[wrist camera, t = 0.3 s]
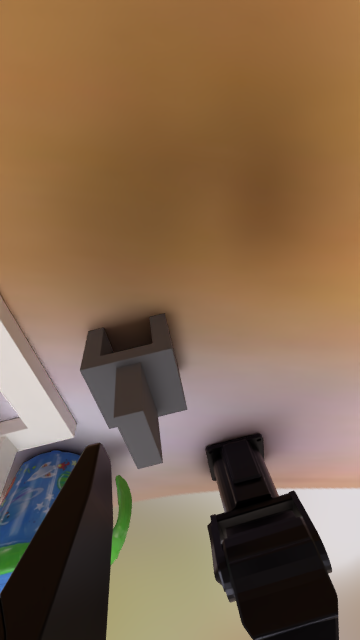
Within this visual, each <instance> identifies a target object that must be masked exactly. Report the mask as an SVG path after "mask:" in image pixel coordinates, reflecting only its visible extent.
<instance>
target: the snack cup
mask: <svg viewBox="0 0 360 640" xmlns="http://www.w3.org/2000/svg"><path fill="white" fill-rule="evenodd" d="M79 458H80V455H77V454H74V453H70V452H61V451H57V450H54V451H51V452H48V453H43V454H40V455H38V456H35V457H34V458H32V459H31V460H29V461H27V462H24V463H23V465H22V466H21V468H20V469H19V471H18V472H17V474H16V476H15V478H14V479H13V481H12V483H11V485H10V487H9V489H8V491H7V493H6V495H5V497H4V499H3V501H2V503H1V505H0V593H1V591H2V589H3V588H4V586H5V584H6V583H7V581H8V579H9V577H10V576H11V574H12V572H13V571H14V569H15V567H16V565H17V564H18V562H19V560H20V559H21V557H22V555H23V553H24V552H25V550H26V548H27V547H28V545H29V543H30V542H31V540H32V538H33V536H34V535H35V533H36V531H37V530H38V528H39V526H40V524H41V523H42V521H43V519H44V518H45V516H46V514H47V512H48V511H49V509H50V507H51V506H52V504H53V502H54V501H55V499H56V497H57V495H58V494H59V492H60V490H61V489H62V487H63V485H64V483H65V482H66V480H67V478H68V477H69V475H70V473H71V471H72V470H73V468H74V466H75V465H76V463H77V461H78V460H79ZM115 480H116V485H117V495H118V504H119V514H118V520H117V523H116V525H115V527H114V528H113V535H112V550H111V564H112V563H113V562H114V560H115V559H117V557H118V554H119V552H120V550H121V548H122V546H123V544H124V541H125V538H126V534H127V531H128V528H129V523H130V517H131V509H132V499H131V498H132V497H131V493H130V489H129V487H128V484H127V482H126V481H125V480H124V479H123V478H122V477H121V476H120V475H118V476H116V479H115Z"/></svg>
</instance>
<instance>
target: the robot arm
mask: <svg viewBox="0 0 360 640" xmlns="http://www.w3.org/2000/svg"><path fill="white" fill-rule="evenodd" d="M206 455H207V459H208V464H209V468H210V472H211V477H212V480H213V481H217V484H218V488H219V492H220V496H221V500H222V503H223V508H224V511H225V513H222V514H218V515H215V514H214V515H211V516H210V517H211V523H210V524H209V525H208V531H209V536H210V541H211V548H212V557H213V567H214V574H215V578H216V581H217V582H218V583H220V584H221V585H222V586H223V588H224V591H225V592H226V594H227V597H228V599H229V602H233V601H236V602H237V606H238V610H239V614H240V618H241V622H242V624H243V626H244V628H245V629H246V631H247V632H248V634H249V635H250V636H251V638H252V639H253V640H339V628H338V598H337V594H336V591H335V589H334V586H333V584H332V582H331V580H330V577H329V575H328V573H331V572H332V568H331V564H330V561H329V558H328V555H327V552H326V550H325V547H324V545H323V543H322V541H321V539H320V536H319V534H318V532H317V531H316V529H315V527H314V525H313V523H312V522H311V520H310V518H309V516H308V514H307V513H306V511H305V509H304V507H303V505H302V504H301V502H300V500H299V499H298V496H297V495H296V493H295V491H291V492H289V493H288V494H284V495H281V496H279V495H278V493H277V490H276V488H275V486H274V483H273V481H272V479H271V476H270V474H269V472H268V469H267V467H266V465H265V462H264V445H263V437H262V435H261V434H256V435H252V436H248V437H244V438H240V439H236V440H232V441H228V442H224V443H220V444H216V445H212V446H209V447H207V448H206ZM112 535H113V504H112V478H111V463H110V459H109V457H108V455H107V453H106V451H105V449H104V447H103V445H102V444H101V443H96V444H92V445H88V446H87V447H86V448H85V449H84V451H83V453H82V454H81V456H80V458H79V460H78V461H77V463H76V465H75V466H74V468H73V470H72V471H71V473H70V475H69V477H68V478H67V480H66V482H65V483H64V485H63V487H62V489H61V490H60V492H59V494H58V495H57V497H56V499H55V501H54V502H53V504H52V506H51V507H50V509H49V511H48V512H47V514H46V516H45V518H44V519H43V521H42V523H41V524H40V526H39V528H38V530H37V531H36V533H35V535H34V536H33V538H32V540H31V542H30V543H29V545H28V547H27V548H26V550H25V552H24V553H23V555H22V557H21V559H20V560H19V562H18V564H17V565H16V567H15V569H14V571H13V572H12V574H11V576H10V577H9V579H8V581H7V583H6V584H5V586H4V588H3V589H2V591H1V593H0V640H106V629H107V612H108V597H109V581H110V566H111V550H112Z"/></svg>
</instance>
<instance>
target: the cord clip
mask: <svg viewBox="0 0 360 640" xmlns="http://www.w3.org/2000/svg"><path fill="white" fill-rule="evenodd" d="M150 326H151V334H152V343H153V344H149V345H144V346H140V347H136V348H132V349H128V350H124V351H119V352H115V353H114V352H113V350H112V347H111V345H110V342H109V340H108V337H107V335H106V332H105V330H104V328H100V329H96V330H92V331H88V335H87V340H86V345H85V349H84V354H83V359H82V363H81V368H80V372H81V374H82V376H83V378H84V379H85V381H86V383H87V385H88V387H89V389H90V391H91V393H92V395H93V397H94V399H95V401H96V403H97V405H98V407H99V409H100V411H101V413H102V415H103V417H104V419H105V421H106V423H107V425H108V427H109V429H111V428H115V427H118V428H119V431H120V433H121V435H122V437H123V439H124V441H125V443H126V445H127V447H128V450H129V452H130V454H131V456H132V458H133V460H134V462H135V464H136V466H137V468H138V469H140V468H144V467H148V466H152V465H156V464H160V463H163V460H162V450H161V441H160V432H159V422H158V417H159V416H163V415H167V414H171V413H175V412H179V411H183V410H187V406H186V401H185V397H184V392H183V387H182V383H181V378H180V374H179V369H178V365H177V361H176V357H175V353H174V349H173V345H172V341H171V337H170V333H169V329H168V325H167V321H166V317H165V313H164V314H159V315H155V316H151V317H150Z"/></svg>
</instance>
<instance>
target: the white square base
mask: <svg viewBox="0 0 360 640" xmlns="http://www.w3.org/2000/svg"><path fill="white" fill-rule="evenodd" d="M0 392H1V393H2V394H3V396H4V397H5V398H6V400H7V401H8V402H9V404H10V405H11V406H12V408H13V409H14V410H15V412H16V413H17V414H18V416H19V417H20V418H16V419H12V420H8V421H4V422H0V497H1V494H2V491H3V488H4V486H5V483H6V480H7V477H8V475H9V472H10V469H11V466H12V464H13V461H14V458H15V455H16V452H18V451H22V450H26V449H30V448H34V447H38V446H42V445H46V444H50V443H54V442H58V441H62V440H66V439H70V438H74V436H75V430H76V425H77V423H76V422H75V420H74V418H73V417H72V415H71V413H70V412H69V410H68V408H67V407H66V405H65V403H64V402H63V400H62V398H61V396H60V395H59V393H58V391H57V390H56V388H55V386H54V385H53V383H52V381H51V380H50V378H49V376H48V375H47V373H46V371H45V370H44V368H43V366H42V365H41V363H40V361H39V360H38V358H37V356H36V354H35V353H34V351H33V349H32V348H31V346H30V344H29V343H28V341H27V339H26V338H25V336H24V334H23V333H22V331H21V329H20V328H19V326H18V324H17V323H16V321H15V319H14V317H13V316H12V314H11V312H10V311H9V309H8V307H7V306H6V304H5V302H4V301H3V299H2V297H1V296H0Z"/></svg>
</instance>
